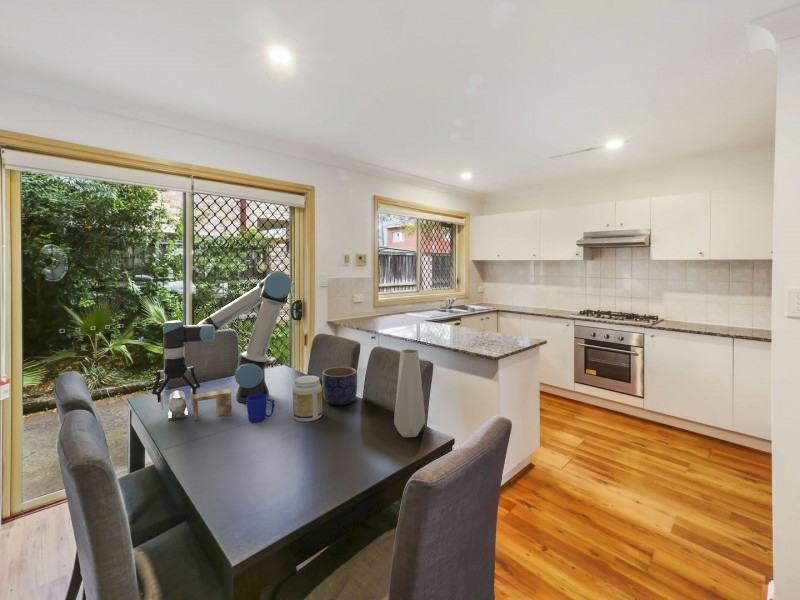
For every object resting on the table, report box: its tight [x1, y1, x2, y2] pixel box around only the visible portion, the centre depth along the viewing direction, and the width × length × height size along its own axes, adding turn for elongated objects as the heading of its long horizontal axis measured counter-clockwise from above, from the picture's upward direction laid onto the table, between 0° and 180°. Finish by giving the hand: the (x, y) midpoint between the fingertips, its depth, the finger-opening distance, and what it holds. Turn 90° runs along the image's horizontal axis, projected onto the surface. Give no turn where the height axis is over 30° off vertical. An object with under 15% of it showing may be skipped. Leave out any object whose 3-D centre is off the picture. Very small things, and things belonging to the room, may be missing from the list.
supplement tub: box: [292, 375, 323, 423], centre depth 162 cm, size 12×12×17 cm
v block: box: [168, 407, 189, 421], centre depth 164 cm, size 7×9×3 cm
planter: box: [321, 366, 358, 406], centre depth 180 cm, size 16×17×15 cm
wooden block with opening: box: [192, 388, 233, 421], centre depth 164 cm, size 14×6×10 cm, turn 121°
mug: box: [245, 394, 275, 423], centre depth 158 cm, size 8×12×10 cm
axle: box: [168, 389, 187, 415], centre depth 163 cm, size 6×15×6 cm, turn 32°
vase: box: [393, 348, 426, 438], centre depth 145 cm, size 12×12×33 cm
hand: (177, 406), depth 163 cm, fingers open, 10 cm apart
